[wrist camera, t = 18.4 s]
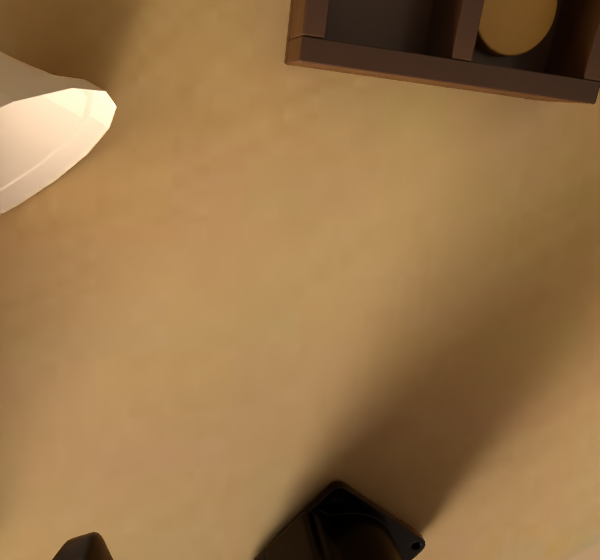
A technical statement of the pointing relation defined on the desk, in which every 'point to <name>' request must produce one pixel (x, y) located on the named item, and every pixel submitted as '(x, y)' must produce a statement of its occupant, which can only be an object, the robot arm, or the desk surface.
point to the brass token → (514, 25)
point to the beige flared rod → (44, 127)
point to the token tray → (447, 46)
